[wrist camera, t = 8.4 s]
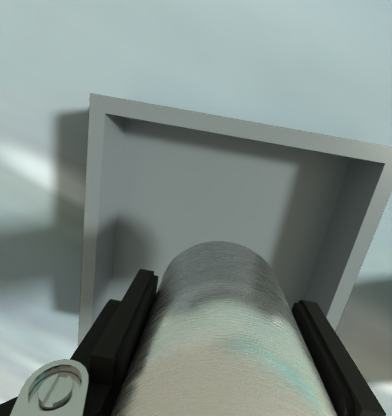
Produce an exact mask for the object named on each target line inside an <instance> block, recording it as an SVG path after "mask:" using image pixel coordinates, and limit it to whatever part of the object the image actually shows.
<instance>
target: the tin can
mask: <svg viewBox="0 0 392 416" xmlns="http://www.w3.org/2000/svg"><path fill="white" fill-rule="evenodd" d="M111 416H337V414H336V412H335V409H334V407H333V405H332V403H331V400H330V398H329V396H328V394H327V391H326V389H325V387H324V385H323V382H322V380H321V378H320V375H319V373H318V371H317V369H316V366H315V364H314V362H313V360H312V357H311V355H310V353H309V351H308V348H307V346H306V344H305V342H304V339H303V337H302V335H301V333H300V330H299V328H298V326H297V323H296V321H295V319H294V317H293V314H292V312H291V310H290V308H289V305H288V303H287V301H286V299H285V296H284V294H283V292H282V290H281V287H280V285H279V283H278V281H277V278H276V276H275V274H274V272H273V270H272V269H271V267H270V266H269V264H268V263H267V262H266V261H265V260H264V259H263V258H262V257H261V256H260V255H258V254H257V253H256V252H254V251H253V250H251V249H249V248H247V247H245V246H242V245H239V244H236V243H232V242H225V241H212V242H205V243H201V244H197V245H195V246H192V247H190V248H188V249H186V250H184V251H183V252H181V253H180V254H179V255H177V256H176V257H175V258H174V259H173V260H172V261H171V263H170V264H169V265H168V267H167V268H166V270H165V272H164V275H163V277H162V280H161V282H160V285H159V288H158V290H157V293H156V296H155V299H154V301H153V304H152V307H151V309H150V312H149V315H148V317H147V320H146V323H145V325H144V328H143V331H142V333H141V336H140V339H139V341H138V344H137V347H136V349H135V352H134V355H133V357H132V360H131V363H130V365H129V368H128V371H127V373H126V376H125V379H124V381H123V384H122V387H121V389H120V392H119V395H118V397H117V400H116V403H115V405H114V408H113V411H112V413H111Z"/></svg>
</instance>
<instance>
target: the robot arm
mask: <svg viewBox="0 0 392 416" xmlns="http://www.w3.org/2000/svg"><path fill="white" fill-rule="evenodd" d="M157 284H158V276H156V275H154V271H150V270H145V269H139V271H138V273H137V274H136V276H135V278H134V280H133V281H132V283H131V285H130V287H129V288H128V290H127V292H126V294H125V295H124V297H123V299H122V301H119V300H114V299H110V300H109V301H108V302H107V303H106V305H105V306H104V308H103V310H102V311H101V313H100V314H99V316H98V317H97V319H96V320H95V322H94V323H93V325H92V326H91V328H90V329H89V331H88V332H87V334H86V336H85V337H84V339H83V340H82V342H81V343H80V345H79V346H78V348H77V349H76V351H75V352H74V354H73V355H72V357H71V359H70V360H67V359H63V360H58V361H53V362H51V363H49V364H46V365H44V366H43V367H41V368H40V369H38V370H37V371H35V372H34V373H33V374H32V375H31V376H30V377H29V378H28V379H27V381H26V382H25V384H24V386H23V387H22V389H21V391H20V394H19V396H18V397H16V398H13V399H11V400H9V401H7V402H5V403H3V404H1V405H0V416H111V413H112V411H113V408H114V405H115V403H116V400H117V397H118V395H119V392H120V389H121V387H122V384H123V381H124V379H125V376H126V373H127V371H128V368H129V365H130V363H131V360H132V357H133V355H134V352H135V349H136V347H137V344H138V341H139V339H140V336H141V333H142V331H143V328H144V325H145V323H146V320H147V317H148V315H149V312H150V309H151V307H152V304H153V301H154V299H155V296H156V291H157ZM291 312H292V314H293V317H294V319H295V321H296V323H297V326H298V328H299V330H300V333H301V335H302V337H303V339H304V342H305V344H306V346H307V348H308V351H309V353H310V355H311V357H312V360H313V362H314V364H315V366H316V369H317V371H318V373H319V375H320V378H321V380H322V382H323V385H324V387H325V389H326V391H327V394H328V396H329V398H330V400H331V403H332V405H333V407H334V409H335V412H336V414H337V416H385V415H386V413H385V412H384V410H383V408H382V407H381V405H380V403H379V402H378V400H377V399H376V397H375V395H374V394H373V392H372V391H371V389H370V387H369V386H368V384H367V383H366V381H365V379H364V378H363V376H362V374H361V373H360V371H359V370H358V368H357V366H356V365H355V363H354V362H353V360H352V358H351V357H350V355H349V354H348V352H347V350H346V349H345V347H344V345H343V344H342V342H341V341H340V339H339V337H338V336H337V334H336V333H335V331H334V329H333V328H332V326H331V325H330V323H329V321H328V320H327V318H326V316H325V315H324V313H323V312H322V310H321V308H320V307H319V305H318V304H317V303H316V302H311V301H306V300H300V301H299V302H298V303H294V305H293V307H292V310H291Z"/></svg>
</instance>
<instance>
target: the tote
mask: <svg viewBox="0 0 392 416" xmlns="http://www.w3.org/2000/svg"><path fill="white" fill-rule="evenodd" d="M391 192H392V147H390V146H385V145H379V144H373V143H368V142H362V141H357V140H351V139H345V138H340V137H334V136H328V135H323V134H317V133H311V132H306V131H300V130H295V129H289V128H283V127H278V126H272V125H266V124H261V123H255V122H250V121H244V120H238V119H233V118H227V117H221V116H216V115H210V114H205V113H199V112H193V111H188V110H182V109H176V108H171V107H165V106H160V105H154V104H148V103H143V102H137V101H131V100H126V99H120V98H114V97H109V96H103V95H98V94H92V93H90V106H89V127H88V147H87V168H86V189H85V209H84V230H83V251H82V271H81V292H80V313H79V333H78V346H79V345H80V343H81V342H82V340H83V339H84V337H85V336H86V334H87V332H88V331H89V329H90V328H91V326H92V325H93V323H94V322H95V320H96V319H97V317H98V316H99V314H100V313H101V311H102V310H103V308H104V306H105V305H106V303H107V302H108V301H109V300H110V299H114V300H119V301H122V299H123V297H124V295H125V294H126V292H127V290H128V288H129V287H130V285H131V283H132V281H133V280H134V278H135V276H136V274H137V273H138V271H139V269H145V270H150V271H154V275H156V276H158V284H157V290H158V288H159V285H160V282H161V280H162V277H163V275H164V272H165V270H166V268H167V267H168V265H169V264H170V263H171V261H172V260H173V259H174V258H175V257H176V256H177V255H179V254H180V253H181V252H183V251H184V250H186V249H188V248H190V247H192V246H195V245H197V244H201V243H205V242H212V241H225V242H232V243H236V244H239V245H242V246H245V247H247V248H249V249H251V250H253V251H254V252H256V253H257V254H258V255H260V256H261V257H262V258H263V259H264V260H265V261H266V262H267V263H268V264H269V266H270V267H271V269H272V270H273V272H274V274H275V276H276V278H277V281H278V283H279V285H280V287H281V290H282V292H283V294H284V296H285V299H286V301H287V303H288V305H289V308H290V310H292V307H293V305H294V303H298V302H299V301H300V300H306V301H311V302H316V303H317V304H318V305H319V307H320V308H321V310H322V312H323V313H324V315H325V316H326V318H327V320H328V321H329V323H330V325H331V326H332V328H333V329H334V331H336V328H337V326H338V323H339V321H340V318H341V316H342V313H343V311H344V308H345V306H346V303H347V301H348V299H349V296H350V294H351V291H352V289H353V286H354V284H355V281H356V279H357V276H358V274H359V271H360V269H361V266H362V264H363V261H364V259H365V256H366V254H367V251H368V249H369V246H370V244H371V241H372V239H373V236H374V234H375V231H376V229H377V226H378V224H379V221H380V219H381V217H382V214H383V212H384V209H385V207H386V204H387V202H388V199H389V197H390V194H391ZM156 293H157V291H156Z"/></svg>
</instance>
